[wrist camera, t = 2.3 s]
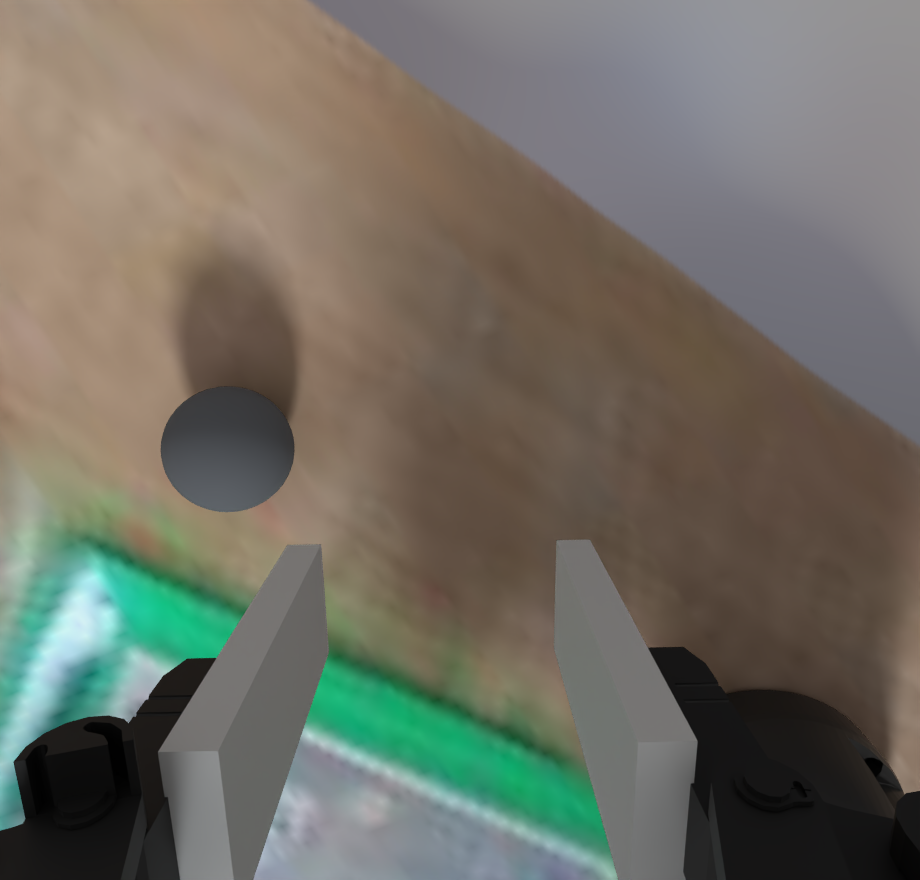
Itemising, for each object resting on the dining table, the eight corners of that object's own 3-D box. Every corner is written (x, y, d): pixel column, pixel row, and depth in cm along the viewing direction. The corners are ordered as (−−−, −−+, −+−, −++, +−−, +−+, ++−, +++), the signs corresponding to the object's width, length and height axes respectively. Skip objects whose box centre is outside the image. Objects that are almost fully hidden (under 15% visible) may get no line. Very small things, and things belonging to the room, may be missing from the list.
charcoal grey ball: (302, 376, 30) (270, 397, 25) (310, 488, 32) (281, 530, 26) (185, 378, 30) (127, 399, 25) (198, 490, 31) (146, 532, 26)
